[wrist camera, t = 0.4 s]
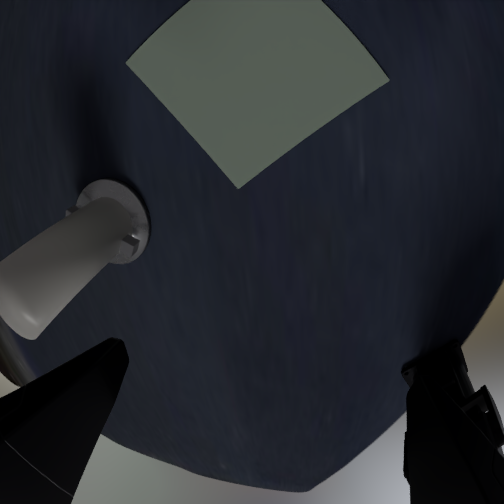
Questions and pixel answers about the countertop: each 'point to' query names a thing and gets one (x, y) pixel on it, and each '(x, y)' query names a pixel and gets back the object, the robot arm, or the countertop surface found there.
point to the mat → (255, 76)
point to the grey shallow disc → (130, 203)
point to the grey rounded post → (62, 263)
